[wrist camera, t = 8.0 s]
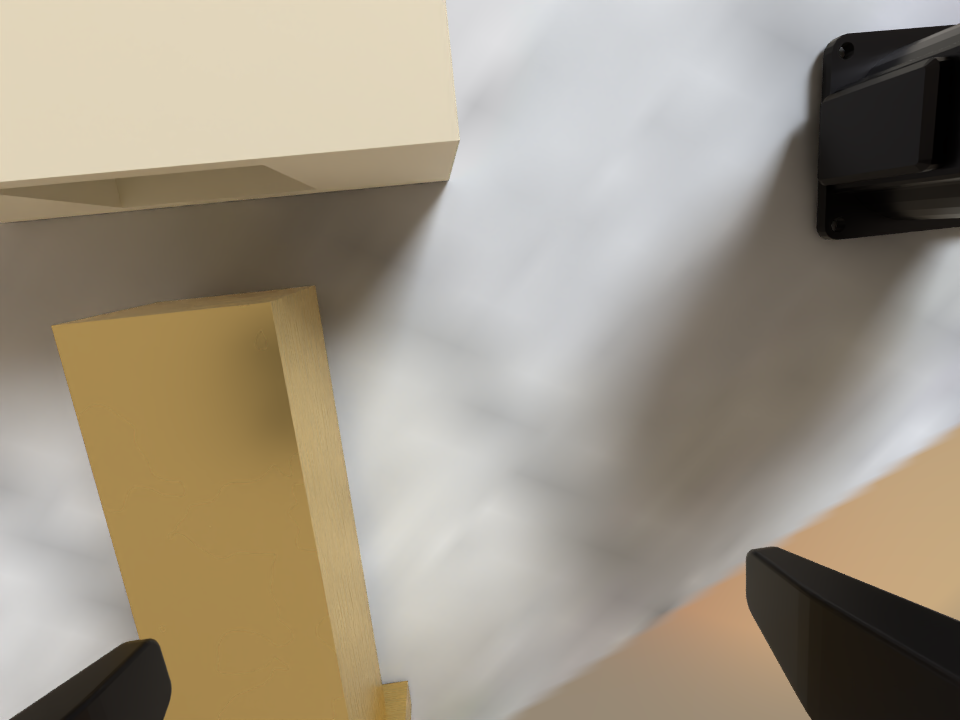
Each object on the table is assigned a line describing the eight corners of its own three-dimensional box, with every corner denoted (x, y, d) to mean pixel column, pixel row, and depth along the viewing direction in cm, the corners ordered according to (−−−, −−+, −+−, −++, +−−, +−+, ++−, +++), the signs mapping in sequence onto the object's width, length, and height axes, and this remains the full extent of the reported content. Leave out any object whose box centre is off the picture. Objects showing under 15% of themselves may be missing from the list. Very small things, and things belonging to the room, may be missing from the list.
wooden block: (345, 280, 18) (301, 300, 12) (411, 705, 22) (403, 883, 16) (148, 301, 18) (-1, 332, 11) (250, 730, 21) (179, 922, 15)
